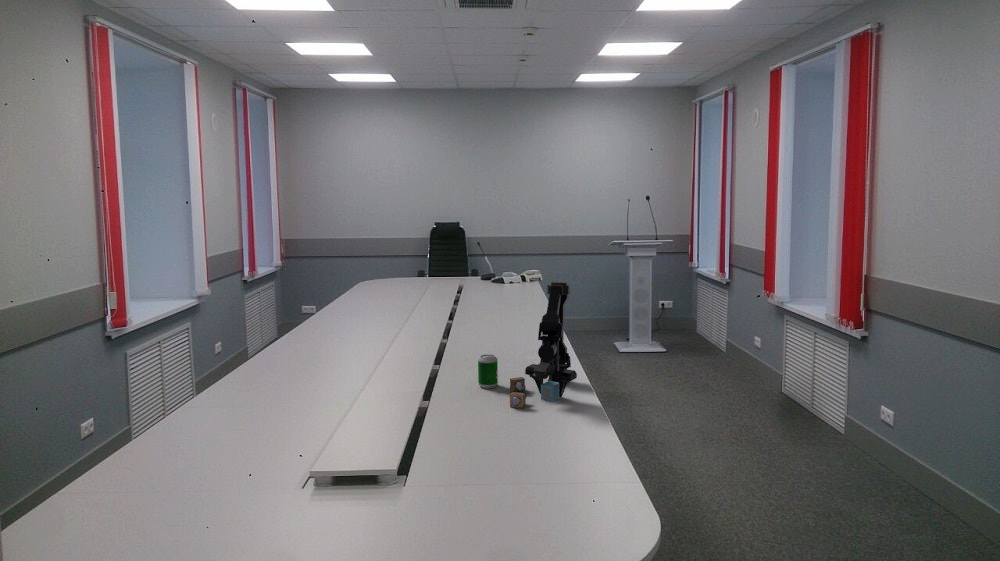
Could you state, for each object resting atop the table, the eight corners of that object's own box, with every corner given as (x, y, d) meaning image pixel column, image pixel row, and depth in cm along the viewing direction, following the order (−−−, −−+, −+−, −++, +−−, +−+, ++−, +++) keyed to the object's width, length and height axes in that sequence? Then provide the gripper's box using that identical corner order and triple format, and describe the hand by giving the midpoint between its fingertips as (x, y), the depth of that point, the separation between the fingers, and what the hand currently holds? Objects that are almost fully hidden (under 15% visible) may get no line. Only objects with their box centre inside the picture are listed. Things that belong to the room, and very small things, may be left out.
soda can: (495, 389, 248) (495, 359, 246) (476, 388, 250) (475, 358, 248) (499, 383, 255) (499, 354, 254) (481, 383, 257) (480, 353, 255)
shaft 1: (508, 389, 248) (508, 377, 247) (521, 388, 250) (520, 376, 249) (516, 395, 241) (515, 382, 241) (528, 393, 243) (528, 380, 242)
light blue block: (549, 394, 241) (549, 380, 240) (560, 397, 239) (560, 382, 238) (540, 399, 236) (540, 384, 235) (552, 401, 233) (552, 387, 233)
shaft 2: (521, 410, 225) (521, 396, 224) (508, 408, 227) (508, 395, 226) (529, 403, 231) (528, 390, 230) (516, 402, 233) (515, 389, 232)
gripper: (516, 355, 233) (517, 397, 236) (562, 362, 223) (562, 405, 225) (532, 348, 243) (533, 389, 245) (577, 355, 232) (577, 397, 234)
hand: (550, 395), depth 237 cm, fingers open, 8 cm apart
